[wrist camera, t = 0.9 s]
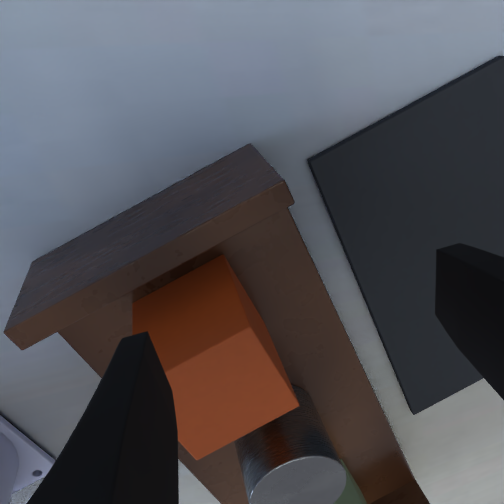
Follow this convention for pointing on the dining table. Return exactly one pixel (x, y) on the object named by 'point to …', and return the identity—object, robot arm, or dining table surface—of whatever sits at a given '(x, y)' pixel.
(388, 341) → the mat
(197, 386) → the rust block
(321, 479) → the steel tin
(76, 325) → the shelf
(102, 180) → the dining table surface
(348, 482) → the sage block
